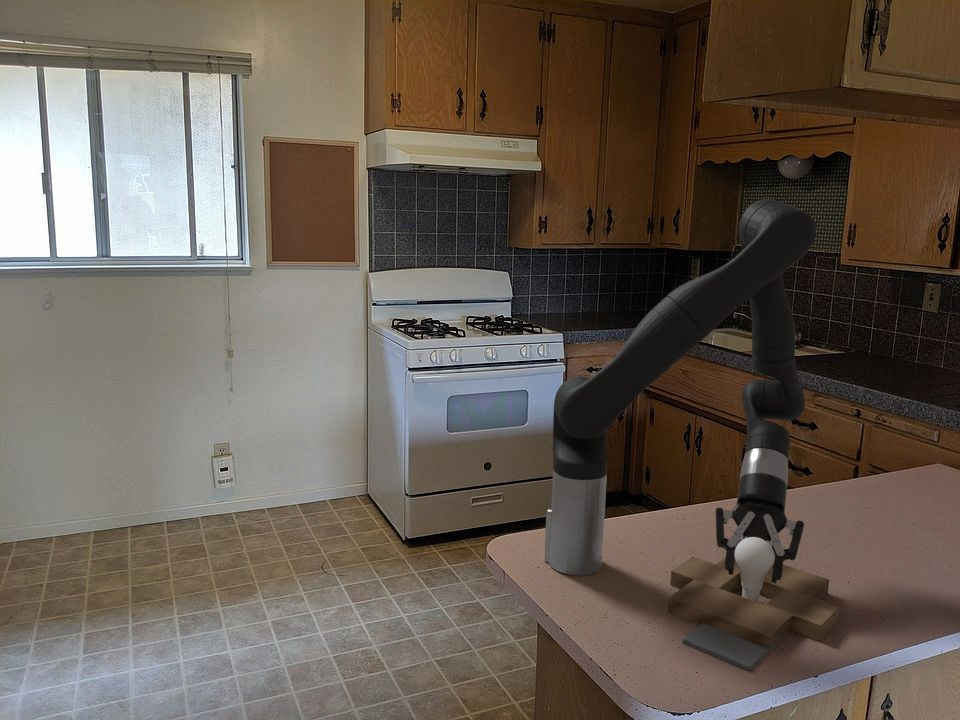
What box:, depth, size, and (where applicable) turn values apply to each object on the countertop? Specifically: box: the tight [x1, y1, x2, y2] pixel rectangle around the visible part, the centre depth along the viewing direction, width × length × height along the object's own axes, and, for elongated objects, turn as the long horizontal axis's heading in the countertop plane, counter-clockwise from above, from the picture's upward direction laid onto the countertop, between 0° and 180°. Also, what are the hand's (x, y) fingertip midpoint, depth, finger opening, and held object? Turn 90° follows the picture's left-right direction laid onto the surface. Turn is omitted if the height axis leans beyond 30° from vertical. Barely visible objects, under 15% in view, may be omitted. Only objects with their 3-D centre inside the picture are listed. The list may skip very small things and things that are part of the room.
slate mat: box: [682, 623, 777, 672], centre depth 113 cm, size 10×9×1 cm
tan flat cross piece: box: [667, 556, 839, 653], centre depth 125 cm, size 24×24×2 cm
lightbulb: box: [734, 537, 775, 602], centre depth 124 cm, size 6×6×11 cm
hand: (752, 576), depth 122 cm, fingers closed on lightbulb, 6 cm apart
